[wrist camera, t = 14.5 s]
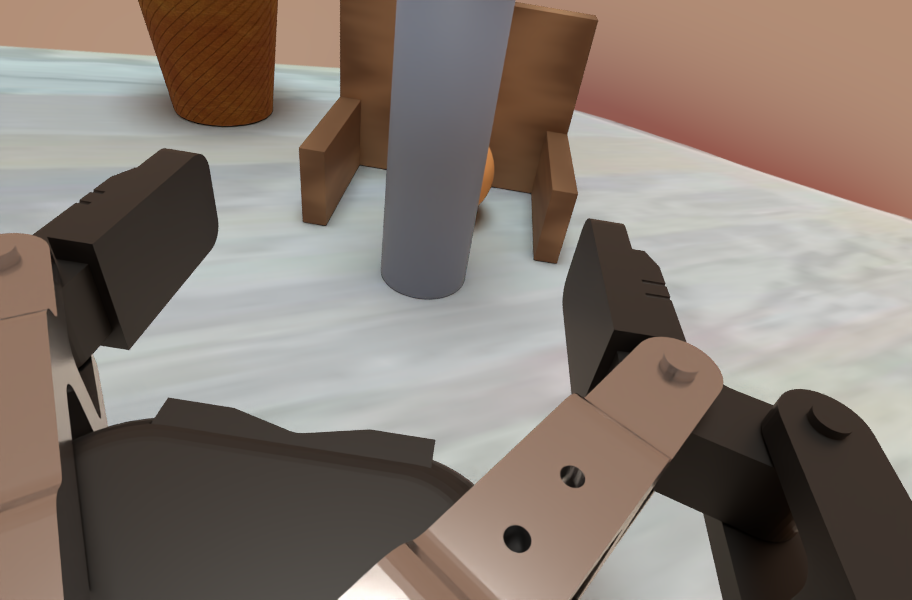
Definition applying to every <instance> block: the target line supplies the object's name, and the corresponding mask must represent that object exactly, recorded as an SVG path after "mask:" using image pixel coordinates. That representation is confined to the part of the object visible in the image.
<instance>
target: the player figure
mask: <svg viewBox="0 0 912 600" xmlns="http://www.w3.org/2000/svg"><path fill="white" fill-rule="evenodd" d="M514 6H515V0H397V5H396V22H395V39H394V55H393V72H392V89H391V106H390V123H389V140H388V157H387V174H386V191H385V208H384V225H383V242H382V259H381V275H382V277H383V279H384V281H385V282H386V283H387V284H388V285H389V286H390V287H391V288H393V289H394V290H396V291H397V292H399V293H402V294H404V295H407V296H410V297H415V298H421V299H436V298H442V297H446V296H449V295H451V294H453V293H455V292H456V291H458V290H459V289H460V288H461V286H462V285H463V283H464V280H465V275H466V269H467V264H468V258H469V253H470V247H471V242H472V236H473V231H474V225H475V220H476V214H477V209H478V203H479V198H480V192H481V187H482V181H483V176H484V170H485V165H486V159H487V154H488V148H489V143H490V137H491V132H492V126H493V121H494V115H495V110H496V104H497V99H498V93H499V88H500V82H501V77H502V71H503V66H504V60H505V55H506V49H507V44H508V38H509V33H510V27H511V22H512V16H513V11H514Z"/></svg>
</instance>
